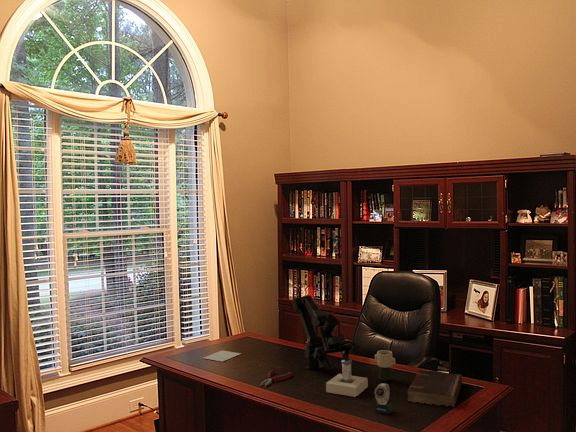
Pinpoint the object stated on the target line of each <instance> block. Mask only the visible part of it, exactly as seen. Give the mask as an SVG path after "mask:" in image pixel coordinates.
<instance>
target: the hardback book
mask: <svg viewBox="0 0 576 432" xmlns="http://www.w3.org/2000/svg"><path fill="white" fill-rule="evenodd" d="M462 385H463V376H462V374H458V373H450V372H440V371H435V370H434V371H432V370H423V369H419V371H417V373H416V375H415V377H414V379H413V380H412V383H411V384H410V386H409V387H408V389H407V394H406V395H407V402H408V401H411V402H410V403H416V402H419V403H418V404H424V403H426V404H425V405H432V404H435V405H434V406H440V405H445V406H444V407H448V406H452V407H451V408H455V407H456V403H457V401H458V396H459V394H460V391H461V387H462Z"/></svg>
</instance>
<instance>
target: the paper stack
mask: <svg viewBox="0 0 576 432" xmlns="http://www.w3.org/2000/svg"><path fill="white" fill-rule="evenodd" d="M241 354H242V353H241V352H240V353H239V352H233V351H228V350H219V351H216V352H213V353H211V354H209V355H207V356H204V357H203V359H204V360H206V359H207V360H212V361H217V362H225V361H227V360H229V359H230V360H231V359H232V358H234V357H236V356H239V355H241Z"/></svg>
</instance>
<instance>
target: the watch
mask: <svg viewBox="0 0 576 432" xmlns="http://www.w3.org/2000/svg"><path fill="white" fill-rule="evenodd" d="M390 392H391V391H390V386H389V384H388V383H383V382H382V383H381V382H380V384H378V385H377V386H375V389H374V396H375V400H376V403H375V404H374V413H376V412H378V413H377V414H381V413H383V414H382V415H386V414H389V413H390V414H391V413H392V412H393V403H392V402H389V399H390V394H391V393H390ZM390 414H389V415H390Z"/></svg>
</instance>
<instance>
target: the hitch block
mask: <svg viewBox="0 0 576 432" xmlns="http://www.w3.org/2000/svg"><path fill="white" fill-rule="evenodd" d="M368 380H369V379H368V377H363V376H357V375H351V382H352V383H351V384H350V383H344V382H342V373H338V374H337V375H335V376H334V377H333V378H331V379H329V380H328V381H326V383H325V391H326V392H325V393H330V394H334V395H335V394H336V395H342V396H347V397H352V398H353V397H354V398H357V397H358V396H359V395H360V394H361V393H362V392H364V391H365V389H367V388H368V387H369V383H368V382H369V381H368ZM356 396H357V397H356Z"/></svg>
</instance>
